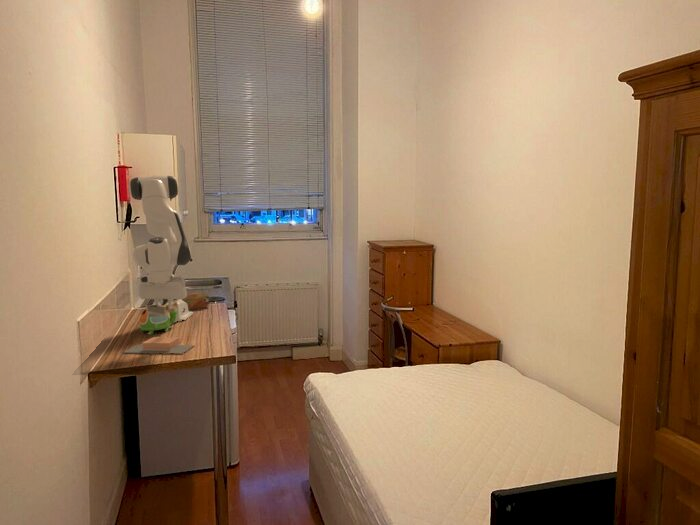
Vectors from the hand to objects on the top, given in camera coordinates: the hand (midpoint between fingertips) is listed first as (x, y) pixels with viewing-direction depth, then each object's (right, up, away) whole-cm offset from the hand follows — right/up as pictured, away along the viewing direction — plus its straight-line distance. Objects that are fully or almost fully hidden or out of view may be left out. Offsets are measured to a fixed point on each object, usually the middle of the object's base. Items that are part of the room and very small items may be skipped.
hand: (164, 309), depth 221 cm
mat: (0, -16, -7) cm, 17 cm away
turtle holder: (-11, -12, +24) cm, 29 cm away
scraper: (0, -1, +1) cm, 2 cm away
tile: (+1, -13, -1) cm, 13 cm away
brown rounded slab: (-6, -6, +66) cm, 67 cm away
